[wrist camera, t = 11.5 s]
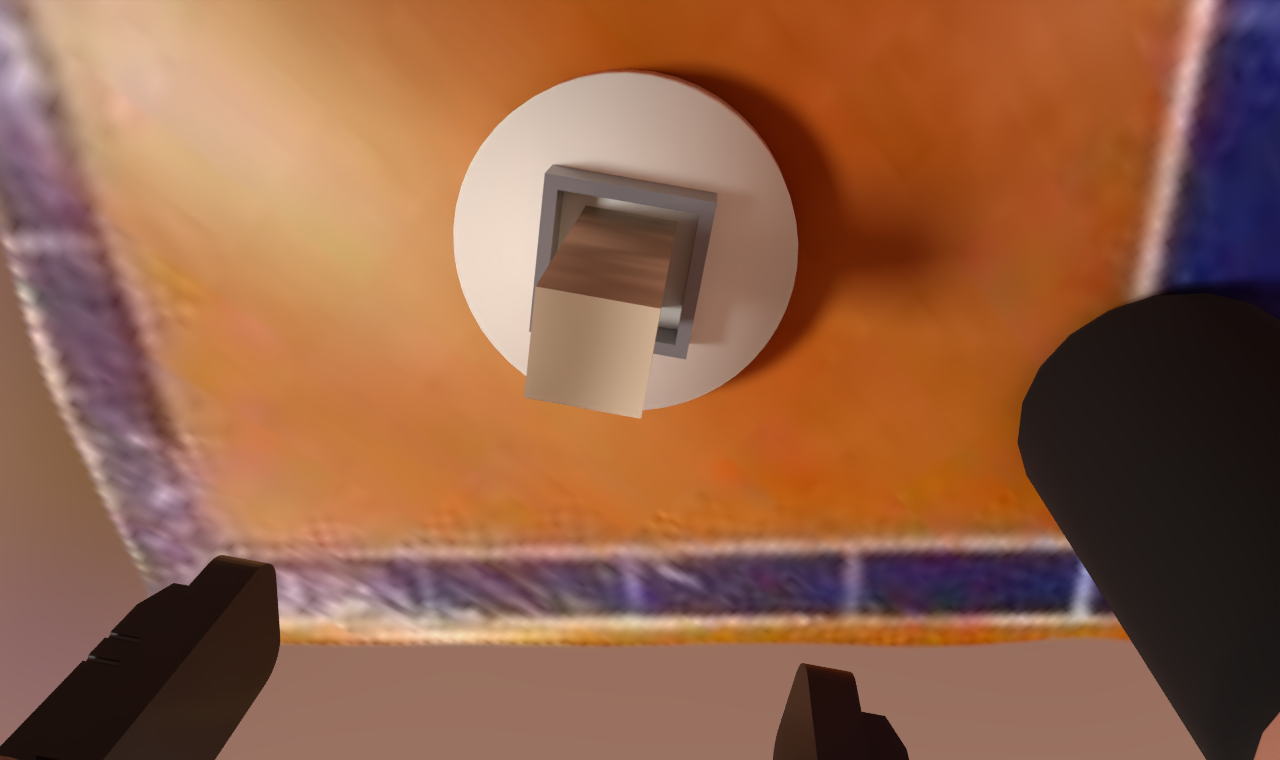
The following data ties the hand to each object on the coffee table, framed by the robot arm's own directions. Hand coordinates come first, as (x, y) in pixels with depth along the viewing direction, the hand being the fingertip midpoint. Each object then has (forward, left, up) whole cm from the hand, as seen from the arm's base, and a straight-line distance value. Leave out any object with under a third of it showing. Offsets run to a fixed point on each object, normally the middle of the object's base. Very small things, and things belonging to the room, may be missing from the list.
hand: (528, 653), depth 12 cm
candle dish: (+1, 0, -22) cm, 22 cm away
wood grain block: (+1, 0, -20) cm, 20 cm away
